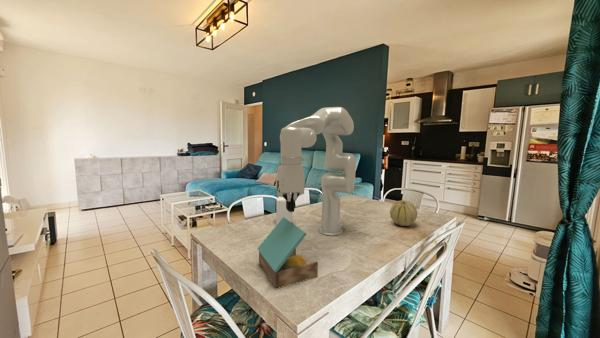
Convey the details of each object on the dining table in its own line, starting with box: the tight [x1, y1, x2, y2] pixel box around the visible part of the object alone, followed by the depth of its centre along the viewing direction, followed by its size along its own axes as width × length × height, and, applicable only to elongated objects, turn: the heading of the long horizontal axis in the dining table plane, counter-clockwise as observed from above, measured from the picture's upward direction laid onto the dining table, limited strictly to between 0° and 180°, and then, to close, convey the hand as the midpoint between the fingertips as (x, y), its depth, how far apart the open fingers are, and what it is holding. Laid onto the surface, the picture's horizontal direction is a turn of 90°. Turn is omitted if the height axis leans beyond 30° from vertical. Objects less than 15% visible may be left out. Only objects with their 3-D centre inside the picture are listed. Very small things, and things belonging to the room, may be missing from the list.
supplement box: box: [275, 196, 293, 225], centre depth 143 cm, size 9×9×15 cm
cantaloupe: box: [389, 199, 418, 227], centre depth 142 cm, size 15×15×15 cm
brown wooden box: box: [258, 247, 319, 289], centre depth 93 cm, size 16×19×6 cm
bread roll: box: [282, 254, 307, 270], centre depth 95 cm, size 8×9×4 cm
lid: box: [257, 217, 307, 273], centre depth 90 cm, size 16×19×1 cm
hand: (290, 210), depth 91 cm, fingers closed
